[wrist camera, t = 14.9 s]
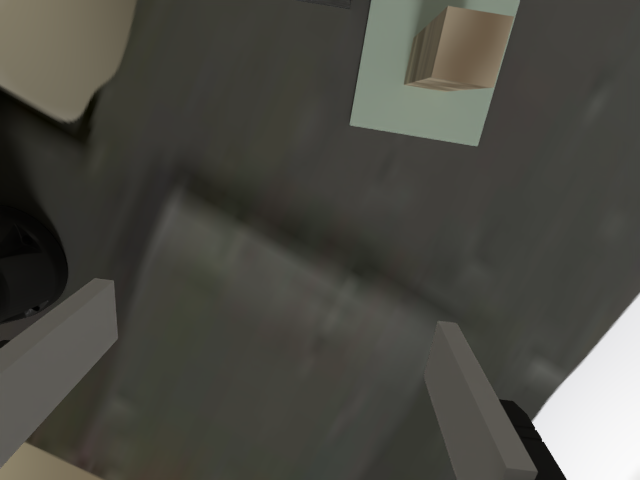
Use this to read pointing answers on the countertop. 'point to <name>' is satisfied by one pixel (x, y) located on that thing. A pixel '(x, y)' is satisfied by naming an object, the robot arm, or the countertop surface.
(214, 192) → the countertop surface
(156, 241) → the countertop surface
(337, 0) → the hole block
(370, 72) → the pad
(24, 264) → the robot arm
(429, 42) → the square peg
